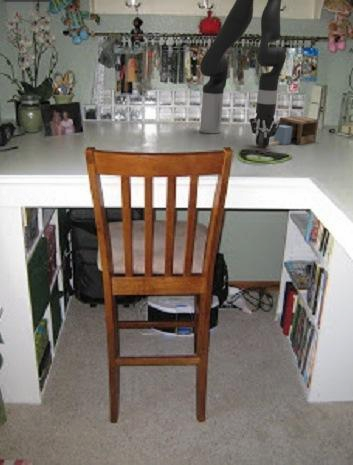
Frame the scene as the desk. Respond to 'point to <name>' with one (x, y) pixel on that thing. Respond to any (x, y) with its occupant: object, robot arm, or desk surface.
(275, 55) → the robot arm
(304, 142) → the shelf
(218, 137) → the desk surface
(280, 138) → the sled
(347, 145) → the desk surface
